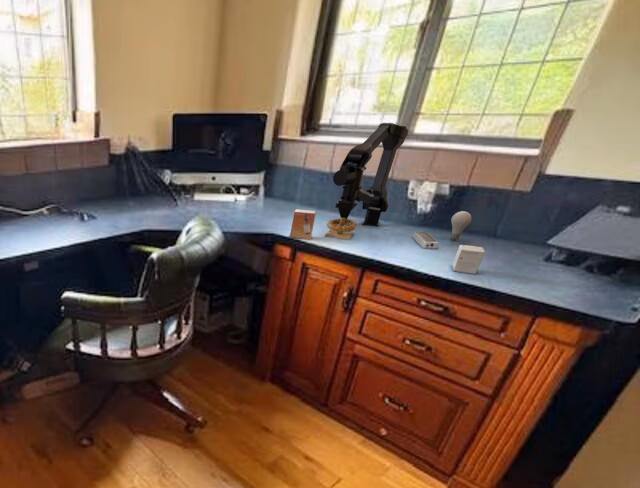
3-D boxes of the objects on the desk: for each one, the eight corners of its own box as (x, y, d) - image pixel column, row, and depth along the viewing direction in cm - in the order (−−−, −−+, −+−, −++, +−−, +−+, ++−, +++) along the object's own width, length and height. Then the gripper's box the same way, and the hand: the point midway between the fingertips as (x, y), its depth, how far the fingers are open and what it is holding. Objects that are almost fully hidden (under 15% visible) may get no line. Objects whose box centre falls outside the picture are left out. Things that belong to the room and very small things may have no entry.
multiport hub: (425, 238, 168) (427, 232, 167) (436, 248, 156) (438, 242, 155) (412, 237, 169) (414, 231, 168) (423, 248, 157) (425, 241, 156)
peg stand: (330, 231, 179) (333, 214, 176) (353, 234, 175) (357, 216, 171) (325, 236, 173) (329, 219, 169) (349, 239, 168) (353, 221, 165)
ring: (330, 222, 179) (331, 216, 177) (358, 225, 173) (359, 219, 172) (323, 230, 172) (325, 224, 170) (352, 234, 166) (354, 228, 165)
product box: (452, 271, 135) (460, 249, 132) (451, 265, 140) (459, 244, 136) (476, 274, 132) (485, 252, 129) (474, 268, 137) (483, 246, 133)
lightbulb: (457, 243, 161) (468, 214, 156) (441, 239, 166) (451, 211, 161) (466, 240, 164) (477, 212, 158) (450, 237, 168) (460, 209, 163)
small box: (289, 237, 173) (293, 211, 168) (291, 234, 177) (295, 208, 172) (309, 239, 169) (314, 213, 164) (311, 236, 174) (316, 210, 169)
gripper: (371, 188, 156) (361, 229, 164) (378, 180, 170) (368, 219, 177) (339, 185, 162) (331, 226, 169) (348, 178, 175) (340, 216, 183)
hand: (343, 222), depth 175 cm, fingers closed on ring, 2 cm apart
